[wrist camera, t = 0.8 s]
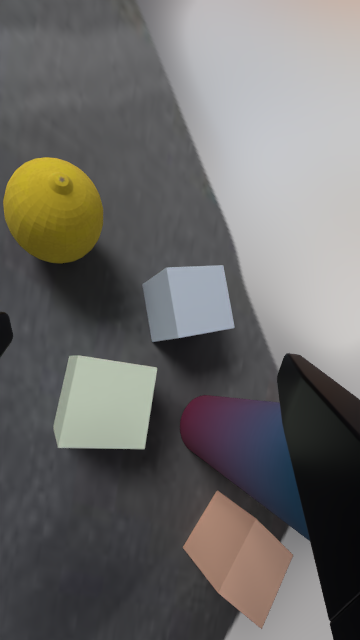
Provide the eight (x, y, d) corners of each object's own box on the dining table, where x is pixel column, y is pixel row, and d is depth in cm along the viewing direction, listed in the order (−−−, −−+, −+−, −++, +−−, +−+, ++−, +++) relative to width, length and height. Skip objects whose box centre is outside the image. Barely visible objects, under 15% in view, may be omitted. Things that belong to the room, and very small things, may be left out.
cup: (171, 386, 23) (343, 420, 10) (234, 384, 27) (429, 409, 13) (169, 470, 22) (357, 630, 9) (235, 458, 26) (446, 565, 12)
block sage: (122, 430, 21) (144, 449, 17) (53, 427, 19) (58, 447, 15) (133, 365, 22) (157, 367, 18) (69, 356, 20) (78, 355, 16)
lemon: (57, 291, 20) (67, 255, 13) (-10, 236, 19) (-38, 162, 12) (105, 244, 22) (136, 191, 15) (49, 191, 21) (55, 105, 14)
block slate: (200, 333, 26) (234, 327, 21) (151, 341, 23) (178, 338, 19) (191, 281, 26) (222, 265, 21) (142, 284, 24) (166, 267, 19)
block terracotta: (219, 578, 23) (261, 629, 19) (182, 546, 22) (218, 592, 18) (249, 521, 25) (293, 555, 21) (216, 489, 24) (256, 518, 20)
